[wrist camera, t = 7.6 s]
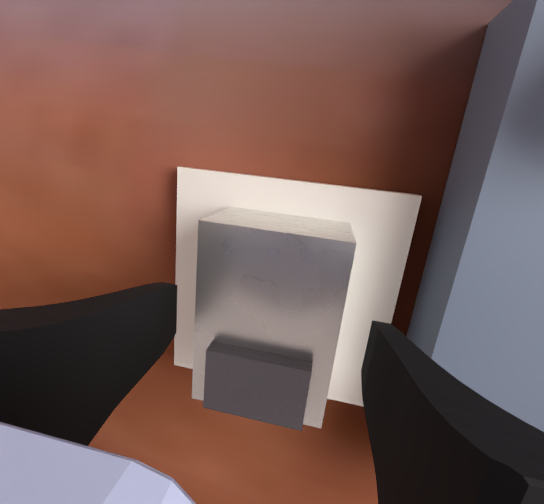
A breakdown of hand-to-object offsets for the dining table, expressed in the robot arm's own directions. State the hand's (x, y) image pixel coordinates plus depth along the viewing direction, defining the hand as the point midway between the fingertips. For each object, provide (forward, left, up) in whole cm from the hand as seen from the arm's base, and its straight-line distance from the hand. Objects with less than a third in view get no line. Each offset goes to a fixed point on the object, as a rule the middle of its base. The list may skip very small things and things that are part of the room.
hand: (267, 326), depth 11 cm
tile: (0, 0, -4) cm, 4 cm away
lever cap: (0, 0, -3) cm, 3 cm away
